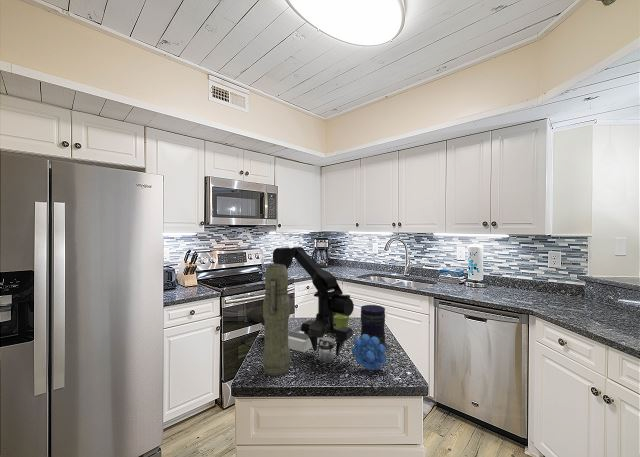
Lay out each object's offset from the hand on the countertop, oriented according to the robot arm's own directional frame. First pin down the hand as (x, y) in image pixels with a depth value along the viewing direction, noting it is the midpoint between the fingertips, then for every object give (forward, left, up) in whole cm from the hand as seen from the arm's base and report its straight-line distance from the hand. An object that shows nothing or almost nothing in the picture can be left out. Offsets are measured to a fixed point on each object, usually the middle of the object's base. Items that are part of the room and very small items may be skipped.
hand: (326, 353), depth 103 cm
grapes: (+17, -1, -2) cm, 17 cm away
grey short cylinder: (0, 0, -2) cm, 2 cm away
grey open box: (-14, +7, -2) cm, 16 cm away
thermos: (-11, -15, -2) cm, 19 cm away
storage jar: (+10, +21, -2) cm, 23 cm away
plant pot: (-7, +25, -2) cm, 26 cm away
